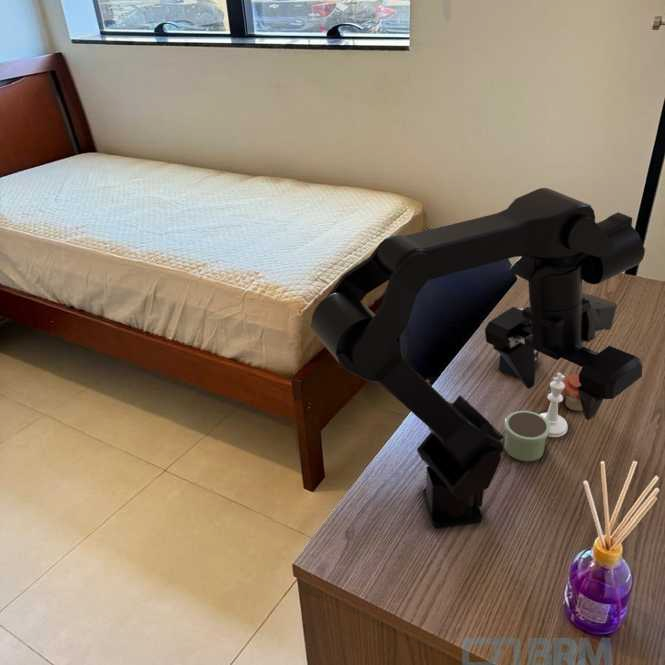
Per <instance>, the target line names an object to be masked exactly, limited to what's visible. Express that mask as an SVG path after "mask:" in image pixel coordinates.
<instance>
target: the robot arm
mask: <svg viewBox="0 0 665 665" xmlns="http://www.w3.org/2000/svg"><path fill="white" fill-rule="evenodd" d="M645 252H646V248H645V246H644V244H643V241H642V238H641V236H640V234H639V233H638V231H637V230H636V229H635V228H634V227H633V217H632V216H629V215H626V214H624V213H621V212H618V211H617V212H616V213H613V214H611V215H609V216H608V217H607V218H605V219H604V220H601V221H598V222H596V215H595V211H594V209H593V207H592V205H591V204H588V203H585V202H584V201H581V200H578V199H576V198H574V197H571V196H568V195H566V194H564V193H562V192H559V191H556V190H554V189H552V188H548V187H539V188H537V189H535V190H533V191H530V192H528V193H526V194H523V195H521V196H518V197H516V198H515V199H514V200H512V202H511V203H510V204H509V205H508V206H506V208H505V209H504V210H501V211H499V212H496V213H492V214H489V215H483V216H480V217H476V218H472V219H467V220H464V221H460V222H457V223H456V222H455V223H451V224H448V225H447V224H446V225H443V226H440V227H435V228H431V229H426V230H422V231H418V232H414V233H411V234H406V235H402V234H401V235H399V234H397V235H390V236H387V237H385V238H384V239H383V240H382V241H381V242H380V243H379V244H378V245H377V246H376V248H375V249H374V250H373V252H372V253H371V254H370V256H369V257H368V258H366V259H364V260H363V261H361V262H360V263H358V264H357V265H356V266H354V267H353V268H351V269H350V270H348V271H347V272H345V273H344V274H342V276H341V277H340V279H339V280H338V281H336V282H337V283H336V284H335V285H334V286H333V288H332V289H331V290H330V291H329V293H328V294H327V295H326V296H325V297H324V298H323V299H322V300H321V301H320V302H319V303H318V304H317V306H316V307H315V309H314V310H313V313H312V315H311V322H310V329H311V331H312V332H313V334H314V335H315V337H316V338H317V339H318V340H319V341H320V343H322V345H323V347H325V349H326V350H327V351H328V352H329V353H330V354H331V356H332V357H333V358H334V360H336V362H337V363H338V364H339V365H340V366H341V368H343V370H345V371H347V372H348V373H351V374H352V375H354V376H356V377H358V378H359V379H362V380H364V381H366V382H369V383H370V382H371V383H377V384H379V385H381V386H382V387H383V388H384V389H385V390H386V391H387V392H389V394H391V395H392V396H393V397H394V398H395V399H397V400H398V401H399V402H400V403H401V404H402V405H403V406H404V407H406V408H407V409H408V410H409V411H410V412H411V413H412V414H414V416H416V417H417V418H418V419H419V420H420V421H421V422H422V423H423V424H425V425H426V426H427V427H428V430H429V434H428V435H427V436H426V437H425V438H424V440H423V441H422V442H421V444H420V445H419V446H418V447H417V449H416V451H417V453H418V455H419V457H420V459H421V460H422V461H423V462H424V463H425V464H426V465H427V466H426V480H425V481H426V482H425V483H426V484H425V485H426V486H425V487H423V488H422V496H423V499H424V502H425V505H426V508H427V512H428V515H429V517H430V521H431V523H432V526H433V527H434V528H436V529H438V528H439V529H440V528H446V527H453V526H461V525H468V524H473V523H474V524H475V523H480V522H482V521H483V517H484V516H483V514H482V512H481V510H480V508H482V506H483V501H484V500H483V499H484V491H485V490H487V489H489V487H490V485H491V483H492V480H493V478H494V476H495V474H496V472H497V469H498V467H499V465H500V463H501V460H502V455H501V454H502V453H503V452H504V450H505V447H504V444H503V443H502V441H501V440H503V439H505V435H503V434H502V433H501V432H500V431H498V429H497V428H496V427H494V426H493V424H491V422H490V421H489V420H488V419H487V418H485V416H484V415H482V413H480V412H479V410H477V409H476V408H475V407H474V406H473V405H472V404H470V402H469V401H467V399H465V398H464V397H463V396H462V395H461V394H459V395H458V396H457V397H456V399H455V400H454V402H449V401H447V400H446V399H445V398H444V397H443V396H442V394H440V393H439V392H438V391H437V390H436V389H435V388H434V387H433V386H432V385H431V384H430V383H429V382H428V381H427V380H426V379H425V378H424V377H423V376H422V375H421V374H420V373H419V372H418V371H417V370H416V369H415V368H414V367H413V366H412V365H411V364H409V362H408V361H407V360H406V359H405V357H404V355H403V352H402V348H401V345H400V344H399V343H398V341H397V340H398V339H399V338H400V336H401V335H402V334H403V332H404V331H405V330H406V329H407V326H408V324H409V320H410V317H411V315H412V312H413V309H414V305H415V302H416V298H417V296H418V294H419V292H420V291H421V290H422V289H423V287H424V286H425V285H426V284H427V283H428V282H429V281H432V280H435V279H439V278H443V277H447V276H450V275H454V274H457V273H461V272H465V271H468V270H472V269H477V268H480V267H483V266H487V265H490V264H495V263H497V262H501V261H506V260H509V259H513V258H519V259H518V260H516V261H515V262H514V263H513V264H512V265H511V267H510V268H509V271H510V273H512V274H514V275H515V276H518V277H519V278H521V279H523V280H526V281H527V284H528V298H529V300H528V301H529V305H528V306H527V307H525V308H522V309H523V310H520V309H518V308H517V307H515V306H512V307H510V308H508V309H507V310H505V311H503V312H501V313H500V314H499V315H497V316H496V317H494V318H493V319H491V320H489V321H488V322H487V323H486V326H485V328H484V334H485V343H488V344H489V345H491V346H492V347H493V350H494V351H495V352H498V354H499V356H500V355H501V356H502V357H503V358H504V359H505V361H506V362H507V363H508V364H509V365H510V367H511V368H512V369H513V370H514V372H515V373H516V374H517V376H518V377H519V378H518V377H517V378H518V379H519V380H520V381H521V383H522V385H524V387H525V388H526V389H528V390H530V389H531V388H533V387H534V386H535V381H536V366H535V357H534V350H536V351H538V352H539V353H540V354H543V355H545V356H547V357H549V358H552V359H554V360H556V361H559V360H560V359H564V360H565V361H568V362H570V363H572V364H575V365H576V366H578V367H581V369H580V370H579V373H578V374H579V382H580V384H581V386H579V387H578V388H577V389H578V393H579V397H580V401H581V405H582V409H583V411H582V412H583V416H584V418H585V420H587V421H591V420H592V419H593V418H594V417H595V416H596V414H597V412H598V410H599V408H600V407H601V404H602V403H603V401H604V400H613V399H615V398H616V397H618V396H619V395H620V394H622V393H623V392H624V391H625V390H627V389H628V388H629V387H630V386H632V385H633V384H634V383H635V382H636V381H638V380H639V379H641V378H642V377H643V361H642V358H640V357H639V356H636V355H633V354H632V353H629V352H626V351H624V350H621V349H619V348H616V347H614V346H611V345H608V346H607V347H605V348H604V349H602V350H601V351H599V352H597V351H595V350H593V349H590V348H588V347H585V346H583V343H584V342H586V343H590V342H591V341H593V340H594V339H596V332H599V331H604V330H607V331H610V330H612V326H613V323H614V319H615V315H616V311H617V307H618V304H617V303H616V302H614V301H611V300H609V299H605V298H602V297H599V296H597V295H593V294H591V293H590V294H589V293H584V292H583V282H585V283H587V284H590V285H598V284H601V283H603V282H605V281H607V280H609V279H611V278H613V277H616V276H617V275H620V274H622V273H624V272H627V271H628V270H630V269H632V268H634V267H636V266H639V264H641V263H642V261H643V260H644V257H645ZM385 283H387V285H386V288H385V291H384V295H383V296H382V301H381V304H380V307H379V309H378V310H377V312H376V313H374V312H373V311H372V310H371V309H370V308H369V307H368V306H367V305H366V304H365V303H363V302H362V301H363V300H364V298H365V297H366V296H367V295H368V294H369V293H371V292H372V291H374V290H376V289H378V288H379V287H380V286H382V285H383V284H385Z"/></svg>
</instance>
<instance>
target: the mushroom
mask: <svg viewBox="0 0 665 665" xmlns="http://www.w3.org/2000/svg"><path fill="white" fill-rule="evenodd" d="M561 382H563V383H564V385H565V387H564V389H563V390H562V393H563V394H564V395H565V396H566V398H565V406H566V407H567V409H569V410H572V411H575V412H583V409H582V405H581V401H580V397H579V393H578V389H577V388H578V387H579V386H581V384H580V382H579V373H573V374H568V375H567V376H565V379H563V380H561Z"/></svg>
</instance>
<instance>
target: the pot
mask: <svg viewBox="0 0 665 665" xmlns="http://www.w3.org/2000/svg"><path fill="white" fill-rule="evenodd" d="M539 414H540V413H537V412H534V411H530V410H516V411H513V412H511V413H510V414H508V415H507V416H506V417H505V420H504V423H503V424H504V430H505V435H504V444H503V447H504V450H505V452H506V453H507V454H508V455H509V456H510V457H511V458H512V459H516V460H517V461H521V462H535V461H537V460H539V459H541V458H542V457H543V455H544V454H545V448H546V441H547V439H548V438H549V437H548V435H549V433H550V425H549V423H548V421H547V420H546V419H545V418H544V417H543V416H541V415H539Z"/></svg>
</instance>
